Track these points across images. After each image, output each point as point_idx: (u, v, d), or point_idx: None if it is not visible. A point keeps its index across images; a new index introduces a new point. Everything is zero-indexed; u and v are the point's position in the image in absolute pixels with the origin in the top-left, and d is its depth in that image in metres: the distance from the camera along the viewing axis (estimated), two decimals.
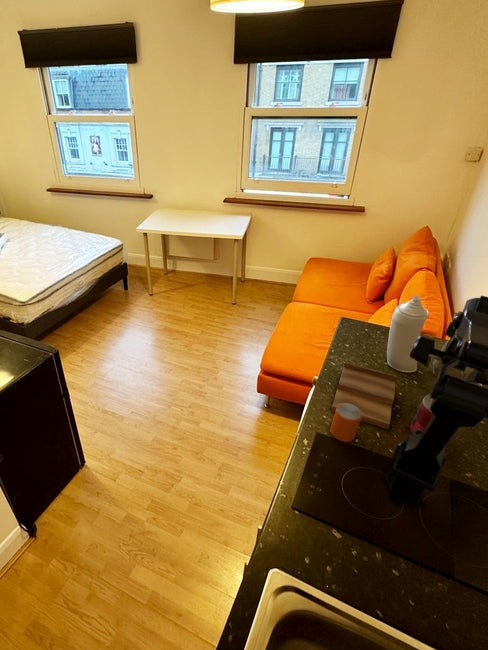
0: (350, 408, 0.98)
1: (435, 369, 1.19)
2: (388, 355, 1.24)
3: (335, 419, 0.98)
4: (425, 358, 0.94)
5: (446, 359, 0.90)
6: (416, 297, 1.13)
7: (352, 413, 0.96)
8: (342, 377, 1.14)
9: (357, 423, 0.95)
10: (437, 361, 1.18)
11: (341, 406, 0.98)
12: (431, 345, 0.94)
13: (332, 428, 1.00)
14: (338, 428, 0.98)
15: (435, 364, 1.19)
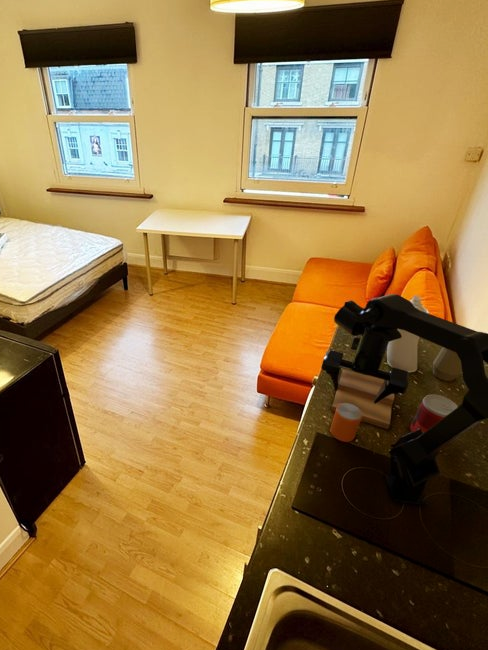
0: (350, 408, 0.98)
1: (435, 369, 1.19)
2: (388, 355, 1.24)
3: (335, 419, 0.98)
4: (337, 366, 0.89)
5: (357, 364, 0.87)
6: (416, 297, 1.13)
7: (352, 413, 0.96)
8: (342, 377, 1.14)
9: (357, 423, 0.95)
10: (437, 361, 1.18)
11: (341, 406, 0.98)
12: (340, 356, 0.91)
13: (332, 428, 1.00)
14: (338, 428, 0.98)
15: (435, 364, 1.19)
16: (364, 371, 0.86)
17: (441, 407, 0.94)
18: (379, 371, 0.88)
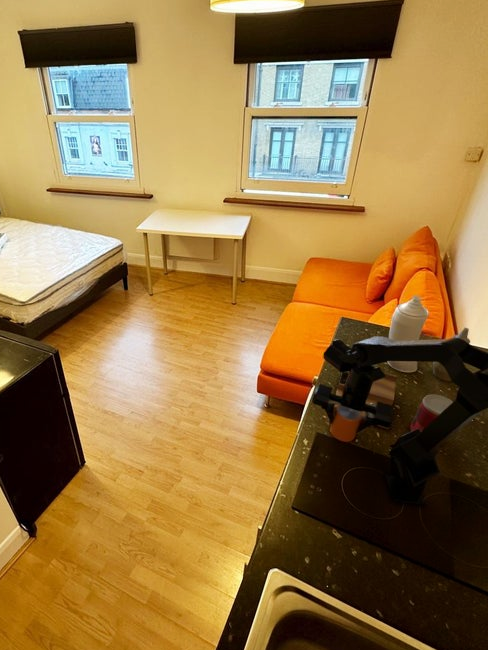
0: (350, 408, 0.98)
1: (435, 369, 1.19)
2: None
3: (335, 419, 0.98)
4: (326, 401, 0.95)
5: (345, 399, 0.93)
6: (416, 297, 1.13)
7: (352, 413, 0.96)
8: None
9: (357, 423, 0.95)
10: None
11: (341, 406, 0.98)
12: (330, 390, 0.97)
13: (332, 428, 1.00)
14: (338, 428, 0.98)
15: (435, 364, 1.19)
16: (352, 406, 0.92)
17: (441, 407, 0.94)
18: (366, 405, 0.94)
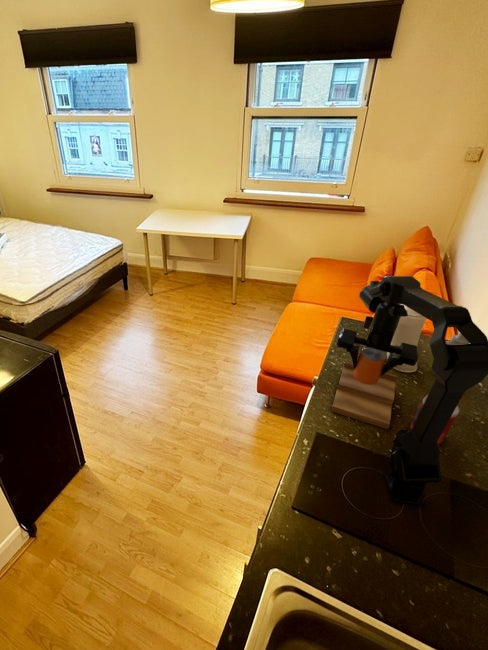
0: (374, 351, 0.99)
1: None
2: (388, 355, 1.24)
3: (359, 362, 1.00)
4: (352, 343, 0.97)
5: (371, 340, 0.95)
6: None
7: (376, 355, 0.98)
8: (342, 377, 1.14)
9: (382, 364, 0.97)
10: None
11: (365, 349, 1.00)
12: (354, 334, 0.99)
13: (356, 372, 1.02)
14: (363, 371, 0.99)
15: None
16: (377, 346, 0.94)
17: None
18: (390, 346, 0.95)
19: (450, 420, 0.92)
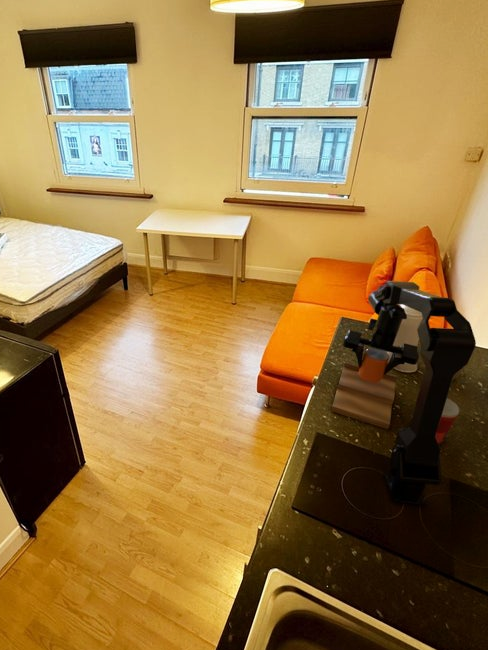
0: (377, 351, 1.07)
1: None
2: None
3: (364, 361, 1.07)
4: (357, 343, 1.04)
5: (374, 341, 1.02)
6: None
7: (380, 355, 1.05)
8: (342, 377, 1.14)
9: (385, 363, 1.04)
10: None
11: (369, 350, 1.07)
12: (359, 335, 1.06)
13: (361, 371, 1.09)
14: (367, 369, 1.07)
15: None
16: (381, 346, 1.01)
17: None
18: (393, 347, 1.03)
19: (450, 420, 0.92)
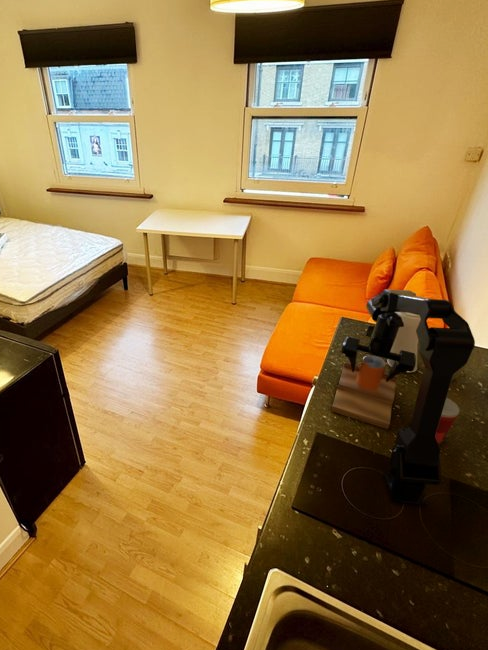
0: (375, 359, 1.08)
1: None
2: None
3: (361, 369, 1.09)
4: (355, 350, 1.06)
5: (372, 347, 1.04)
6: None
7: (377, 363, 1.07)
8: (342, 377, 1.14)
9: (382, 371, 1.06)
10: None
11: (367, 358, 1.09)
12: (357, 341, 1.08)
13: (358, 378, 1.11)
14: (365, 377, 1.08)
15: None
16: (378, 353, 1.03)
17: None
18: (390, 353, 1.04)
19: (450, 420, 0.92)
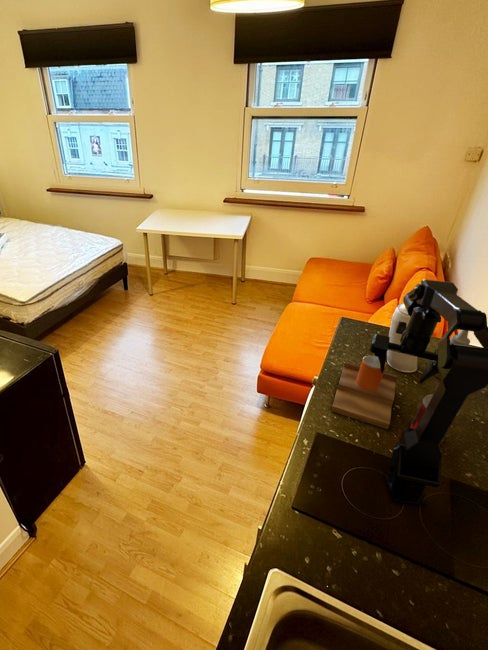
0: (375, 359, 1.08)
1: None
2: (388, 355, 1.24)
3: (361, 369, 1.09)
4: (386, 348, 0.95)
5: (405, 345, 0.93)
6: None
7: (377, 363, 1.07)
8: (342, 377, 1.14)
9: None
10: None
11: (367, 358, 1.09)
12: (388, 339, 0.98)
13: (358, 378, 1.11)
14: (365, 377, 1.08)
15: None
16: (412, 352, 0.93)
17: None
18: (426, 352, 0.94)
19: None
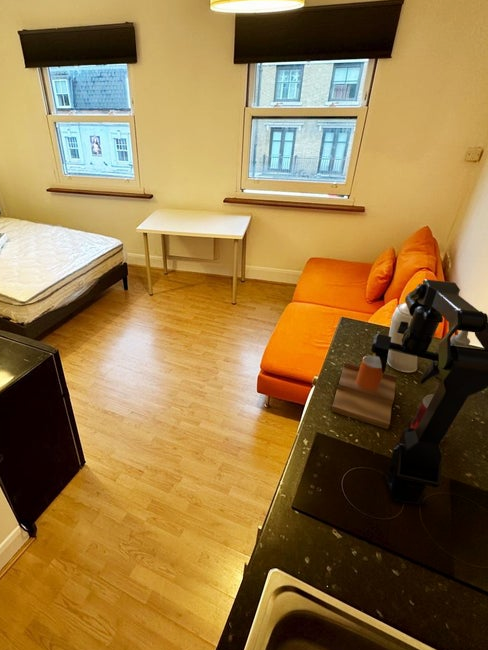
0: (375, 359, 1.08)
1: None
2: (388, 355, 1.24)
3: (361, 369, 1.09)
4: (387, 348, 0.95)
5: (407, 346, 0.93)
6: None
7: (377, 363, 1.07)
8: (342, 377, 1.14)
9: None
10: None
11: (367, 358, 1.09)
12: (389, 339, 0.97)
13: (358, 378, 1.11)
14: (365, 377, 1.08)
15: None
16: (414, 352, 0.92)
17: None
18: (427, 352, 0.94)
19: None
